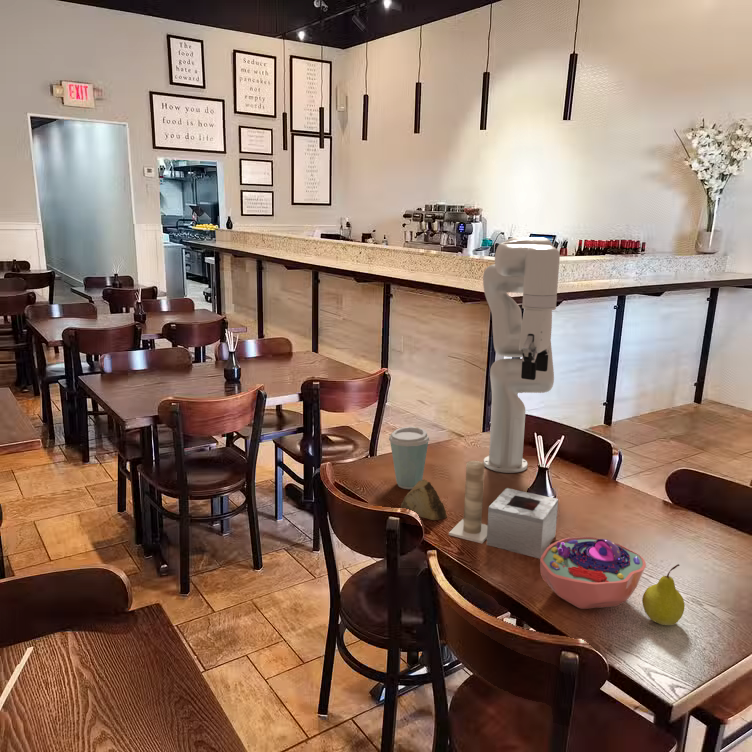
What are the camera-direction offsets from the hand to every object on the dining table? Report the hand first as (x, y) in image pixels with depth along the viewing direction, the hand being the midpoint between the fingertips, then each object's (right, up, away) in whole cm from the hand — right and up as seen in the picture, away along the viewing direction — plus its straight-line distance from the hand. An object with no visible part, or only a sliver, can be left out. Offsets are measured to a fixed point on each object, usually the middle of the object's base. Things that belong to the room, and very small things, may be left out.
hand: (534, 374), depth 155 cm
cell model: (+3, -43, -29) cm, 52 cm away
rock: (-26, -34, +6) cm, 43 cm away
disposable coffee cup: (-29, -30, +23) cm, 47 cm away
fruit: (+14, -45, -36) cm, 59 cm away
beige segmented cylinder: (-15, -35, -4) cm, 39 cm away
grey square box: (-5, -37, -7) cm, 38 cm away
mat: (-15, -36, -4) cm, 39 cm away
